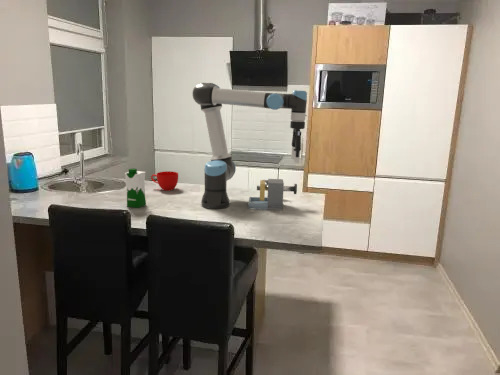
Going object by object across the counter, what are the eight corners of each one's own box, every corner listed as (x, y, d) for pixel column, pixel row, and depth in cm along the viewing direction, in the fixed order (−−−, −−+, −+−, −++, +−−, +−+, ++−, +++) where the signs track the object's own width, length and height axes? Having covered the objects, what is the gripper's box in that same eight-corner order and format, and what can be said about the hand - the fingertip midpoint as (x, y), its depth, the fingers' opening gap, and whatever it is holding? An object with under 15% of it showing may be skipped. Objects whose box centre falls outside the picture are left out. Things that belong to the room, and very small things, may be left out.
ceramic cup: (155, 186, 254) (155, 170, 251) (181, 187, 252) (181, 172, 249) (147, 190, 241) (147, 174, 239) (174, 192, 239) (174, 176, 237)
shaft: (256, 194, 212) (256, 183, 211) (256, 191, 218) (257, 181, 217) (296, 195, 212) (297, 185, 211) (295, 192, 217) (296, 182, 216)
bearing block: (267, 209, 210) (268, 183, 207) (267, 202, 224) (268, 178, 220) (282, 210, 210) (283, 184, 206) (281, 202, 223) (282, 178, 220)
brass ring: (259, 200, 212) (260, 183, 209) (259, 196, 220) (260, 180, 218) (264, 200, 211) (265, 184, 209) (264, 196, 220) (264, 180, 218)
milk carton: (124, 206, 208) (122, 169, 203) (134, 202, 216) (133, 166, 212) (138, 208, 205) (137, 170, 200) (148, 204, 214) (147, 167, 209)
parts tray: (248, 208, 211) (248, 203, 210) (249, 202, 223) (249, 196, 223) (267, 209, 210) (267, 203, 210) (267, 202, 223) (267, 197, 222)
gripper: (308, 123, 196) (305, 165, 201) (301, 119, 221) (299, 157, 226) (293, 122, 196) (290, 165, 201) (288, 118, 220) (285, 156, 226)
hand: (294, 161), depth 214 cm, fingers open, 13 cm apart
